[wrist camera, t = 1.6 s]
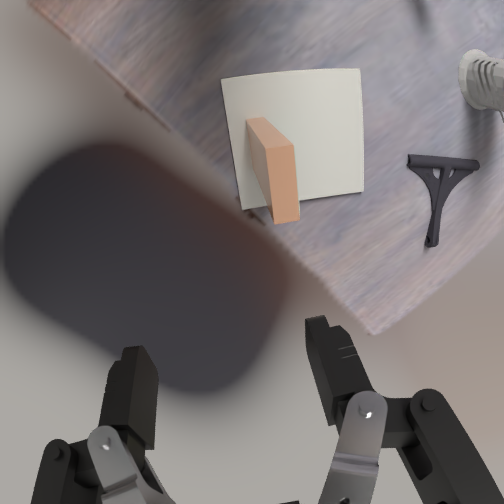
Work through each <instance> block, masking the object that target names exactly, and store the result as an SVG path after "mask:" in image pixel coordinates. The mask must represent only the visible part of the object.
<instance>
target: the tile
mask: <svg viewBox="0 0 504 504" xmlns="http://www.w3.org/2000/svg"><path fill="white" fill-rule="evenodd" d="M246 125H247V132H248V139H249V146H250V153H251V160H252V167H253V171H254V173H255V176H256V178H257V181H258V183H259V186H260V189H261V191H262V194H263V196H264V199H265V201H266V204H267V207H268V209H269V212H270V214H271V217H272V220H273V222H274V224H280V223H286V222H292V221H298V220H300V217H299V214H300V205H299V192H298V179H297V167H296V155H295V147H294V145H293V144H292V143H291V142H290V141H289V140H288V139H287V138H286V137H285V136H284V135H283V134H282V133H281V132H280V131H278V130H277V129H276V128H275V127H274V126H273V125H272V124H271V123H270V122H269V121H268V120H266V119H265V118H264V117H259V118H252V119H246Z"/></svg>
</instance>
